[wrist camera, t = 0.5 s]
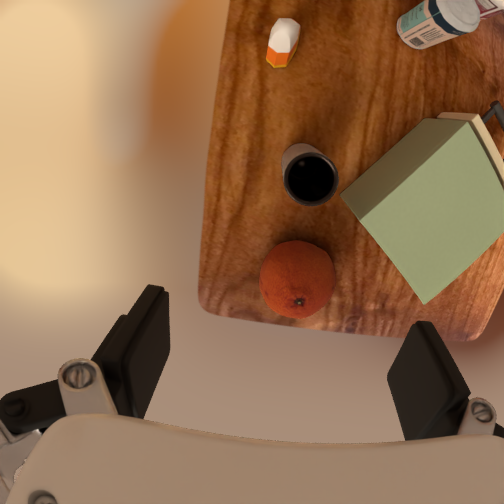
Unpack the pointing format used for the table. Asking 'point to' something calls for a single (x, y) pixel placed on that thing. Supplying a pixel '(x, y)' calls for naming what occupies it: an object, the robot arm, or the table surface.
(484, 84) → the table surface
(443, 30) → the beer can
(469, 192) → the cabinet
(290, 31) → the candy corn
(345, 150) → the table surface
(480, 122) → the drawer
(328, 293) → the fruit
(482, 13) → the pill bottle
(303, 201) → the grey cylindrical tube
